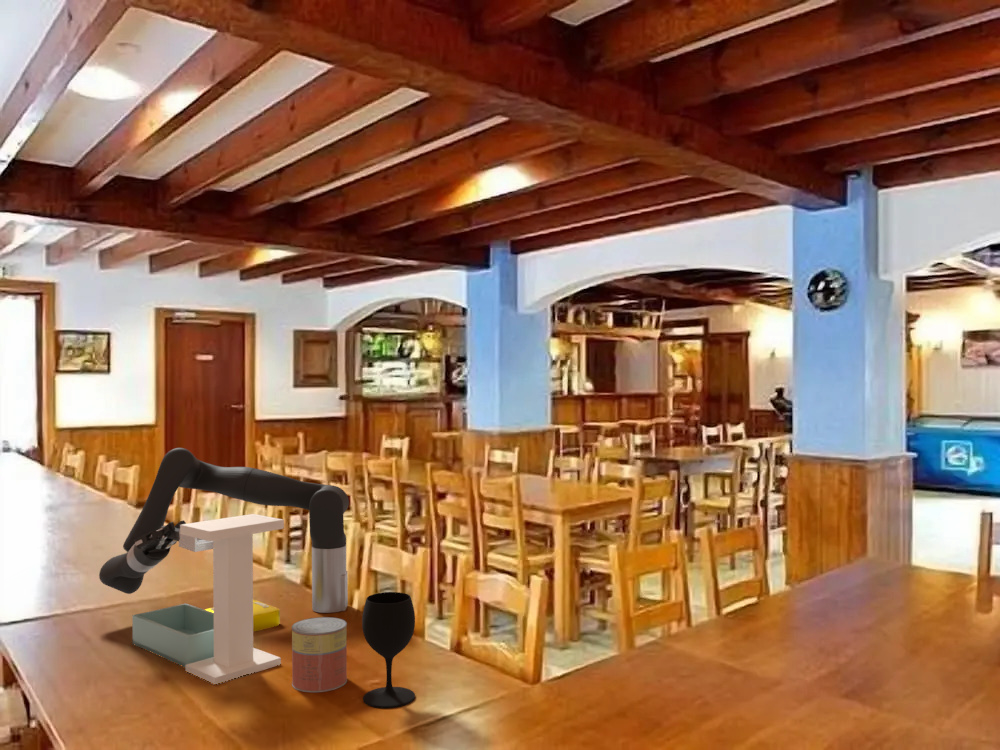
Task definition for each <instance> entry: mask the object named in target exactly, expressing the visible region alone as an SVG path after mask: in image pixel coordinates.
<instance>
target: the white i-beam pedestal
mask: <svg viewBox="0 0 1000 750" xmlns="http://www.w3.org/2000/svg"><path fill="white" fill-rule="evenodd" d="M284 525H285V519H284V518H283V519H282V518H277V517H272V516H267V515H261V514H256V513H250V514H244V515H243V514H242V515H237V516H230V517H223V518H222V517H221V518H215V519H209V520H203V521H197V522H196V521H195V522H189V523H186V524H182V525H180V534H182V535H186V536H190V537H195V538H199V539H203V540H207V541H213V549H212V558H213V561H212V565H213V566H212V567H213V569H212V571H213V572H212V574H213V577H212V578H213V581H212V583H213V585H212V586H213V592H212V593H213V594H212V595H213V596H212V597H213V601H212V602H213V603H212V604H213V607H214V657H211V658H208V659H204V660H201V661H197V662H194V663H190V664H187V665H185V668H184V669H185V671H187V672H189V673H192V674H194V675H196V676H198V677H200V678H199V679H201V678H203V679H205V680H207V681H209V682H211V683H210V684H212V683H213V684H212V685H214V684H217V685H219V684H218V683H220V684H222V683H221V682H223V683H226V682H229V681H228V680H230V681H232V680H231V679H233V680H235V679H234V678H236V679H239V678H241V677H240V676H242V677H244V676H243V675H246V674H249V675H252V674H255V673H258V672H262V671H264V670H267V669H271V668H274V667H278V666H280V664H281V665H282V660H281V659H282V658H281V657H280V656H277V655H275V654H272V653H270V652H267V651H264V650H261V649H259V648H255V647H254V632H253V600H254V563H253V562H254V557H253V555H254V551H253V549H254V548H253V547H254V546H253V541H254V540H253V539H254V538H253V536H254V535H255V534H261V533H266V532H273V531H277V530H279V531H280V530H282V529H285V526H284ZM213 607H212V608H213ZM277 665H278V666H277ZM187 672H186V673H187ZM254 672H255V673H254ZM189 673H188V674H189ZM251 673H252V674H251ZM192 674H191V675H192ZM194 675H193V676H194ZM196 676H195V677H196ZM246 676H247V675H246ZM198 677H197V678H198ZM238 677H239V678H238ZM203 679H202V680H203ZM205 680H204V681H205ZM207 681H206V682H207ZM225 681H226V682H225ZM209 682H208V683H209Z"/></svg>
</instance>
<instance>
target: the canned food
mask: <svg viewBox="0 0 1000 750" xmlns="http://www.w3.org/2000/svg"><path fill="white" fill-rule="evenodd" d="M347 625H348V622H347V621H346V620H344V619H343V618H338V617H331V616H330V617H327V616H322V617H320V616H319V617H311V618H310V617H309V618H305V619H301V620H298V621H296V622H295V623H293V624H292V625H291V650H292V653H291V657H292V659H291V662H292V667H291V668H292V670H291V671H292V672H291V673H292V675H291V677H292V680H291V681H292V682H291V686H292V688H293V689H295V690H296V691H298V692H304V693H324V692H329V691H330V692H331V691H333V690H337V689H339V688H341V687H343V686H344V685H346V684H347V682H348V675H347V673H348V672H347V665H348V664H347V662H348V661H347V660H348V659H347Z"/></svg>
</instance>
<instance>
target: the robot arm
mask: <svg viewBox="0 0 1000 750" xmlns="http://www.w3.org/2000/svg"><path fill="white" fill-rule="evenodd" d="M179 488H184V489H190V490H199V491H207V492H212V493H216V494H220V495H223V496H226V497H229V498H233V499H235V500H241V501H244V502H248V503H251V504H252V503H253V504H255V505H262V506H271V507H273V506H274V507H295V508H299V509H303V510H307V511H308V514H309V515H308V517H309V520H308V521H309V536H310V539H311V604H312V605H311V607H312V611H313V612H316V613H321V614H322V613H324V614H327V613H328V614H330V613H338V612H345V611H346V610H347V607H348V605H349V603H348V600H349V599H348V595H349V594H348V588H349V587H348V585H349V584H348V582H349V581H348V570H347V536H346V534H345V530H344V529H345V528H344V527H345V526H344V514H345V513H346V511H347V509H348V508H349V504H350V500H349V496H348V495H347V493H346V492H345V491H344V490H343V489H342V488H341V487H340V486H337V485H331V484H322V483H321V484H320V483H313V482H307V481H302V480H298V479H295V478H292V477H289V476H286V475H282V474H279V473H275V472H271V471H267V470H263V469H258V468H255V467H249V466H230V467H229V466H228V467H227V466H219V465H215V464H211V463H209V462H205V461H202V460H200V459H198V458H197V457H196V456H195V455H194V454H193V453H192V452H191V451H190V450H189V449H187V448H183V447H176V448H173V449H171V450H169V451H168V452H166V453H165V455H164V456H163V458H162V459H161V462H160V465H159V468H158V470H157V473H156V475H155V479H154V482H153V484H152V487H151V489H150V492H149V494H148V496H147V498H146V501H145V502H144V505H143V507H142V510H140V513H139V515H138V516H137V518H136V521H135V522H134V524H133V526H132V528H131V530H130V532H129V533H128V535H127V536H126V539H125V541H124V542H123V547H122V548H123V550H125V553H122V554H118V555H116V556H113V557H111V558H110V559H108V560H107V561H106V562H105V563H104V564H103V565H101V568H100V570H99V575H98V576H99V577H98V578H99V580H100V582H101V583H102V584H103V585H105V586H107V587H108V588H109V587H110V588H112V589H113V590H114V589H115V590H117V591H119V592H121V593H124V594H126V595H127V594H128V595H131V594H134V593H135V592H137V591H138V590H139V589H140V587H141V586H142V584H143V582H144V581H143V580H144V577H145V574H147V573H148V572H149V571H150V570H151V569H153V568H155V567H156V566H157V565H158V564H159V563H161V562H162V561H163V560H164V559H165V558H166V557H168V555H169V553H170V552H171V551H170V550H171V548H172V546H173V545H176V544H177V542H178V541H176V540H173V539H170V538H167V536H169V535H170V534H171V533H172V532H174V531H175V527H177V528H180V525H182V524H187V523H186V521H185V520H182V519H181V520H179V522H177V523H176V524H175V523H174V522H173V521H171V522H169V523H167V524H165V522H166V519H167V515H168V512H169V508H170V505H171V502H172V500H173V497H174V496H175V494H176V492H177V490H178V489H179ZM164 524H165V525H164ZM161 526H165V527H164V528H161Z"/></svg>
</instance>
